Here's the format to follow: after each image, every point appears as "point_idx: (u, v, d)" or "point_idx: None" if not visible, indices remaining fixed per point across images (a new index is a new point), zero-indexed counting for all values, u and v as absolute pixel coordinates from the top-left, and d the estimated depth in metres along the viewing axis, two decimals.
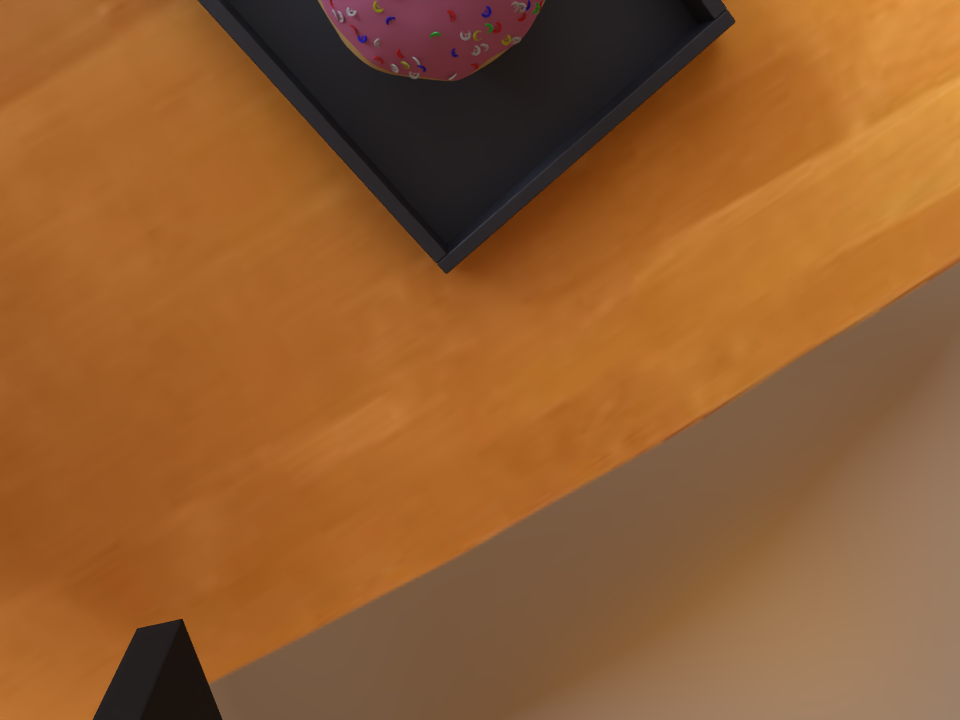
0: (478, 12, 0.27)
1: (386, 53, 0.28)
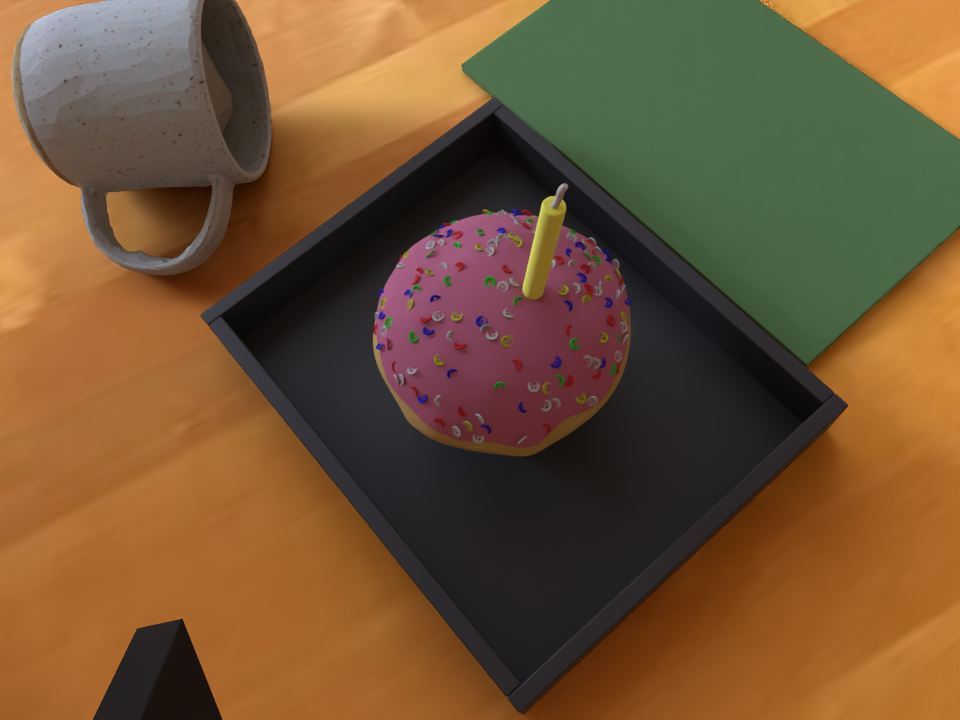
0: (547, 362, 0.25)
1: (447, 413, 0.26)
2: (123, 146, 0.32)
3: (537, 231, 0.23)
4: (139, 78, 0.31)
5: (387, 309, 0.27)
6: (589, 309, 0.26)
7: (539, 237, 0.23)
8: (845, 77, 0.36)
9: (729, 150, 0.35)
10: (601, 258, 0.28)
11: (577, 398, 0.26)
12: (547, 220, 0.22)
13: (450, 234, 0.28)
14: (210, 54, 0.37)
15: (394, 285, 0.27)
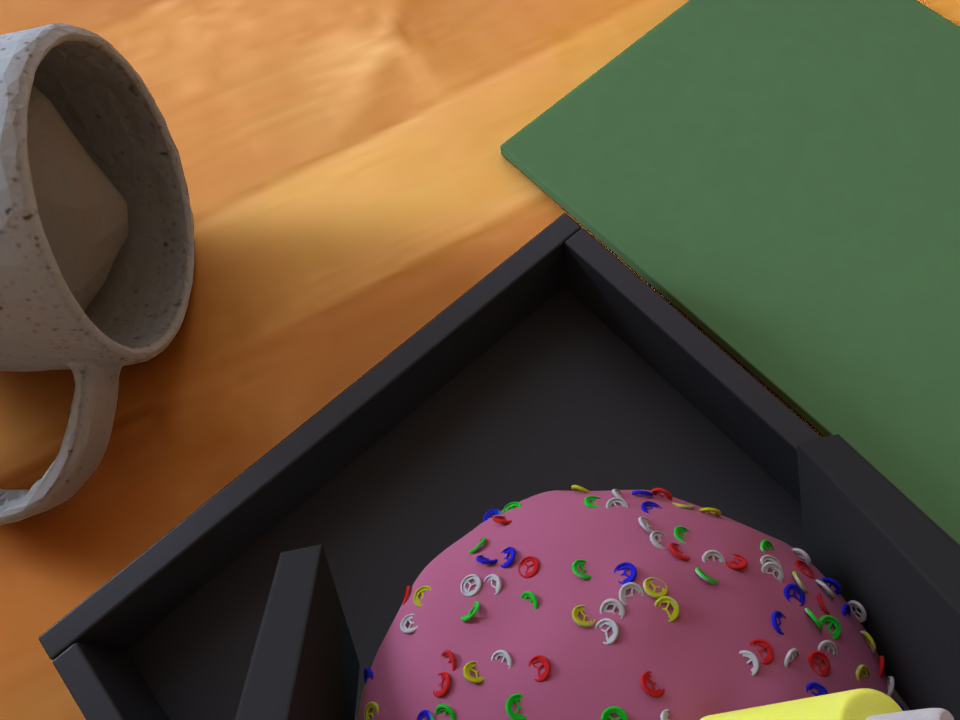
0: None
1: None
2: None
3: None
4: None
5: None
6: None
7: None
8: None
9: None
10: (836, 613, 0.13)
11: None
12: None
13: (512, 561, 0.13)
14: (90, 138, 0.23)
15: (394, 678, 0.13)
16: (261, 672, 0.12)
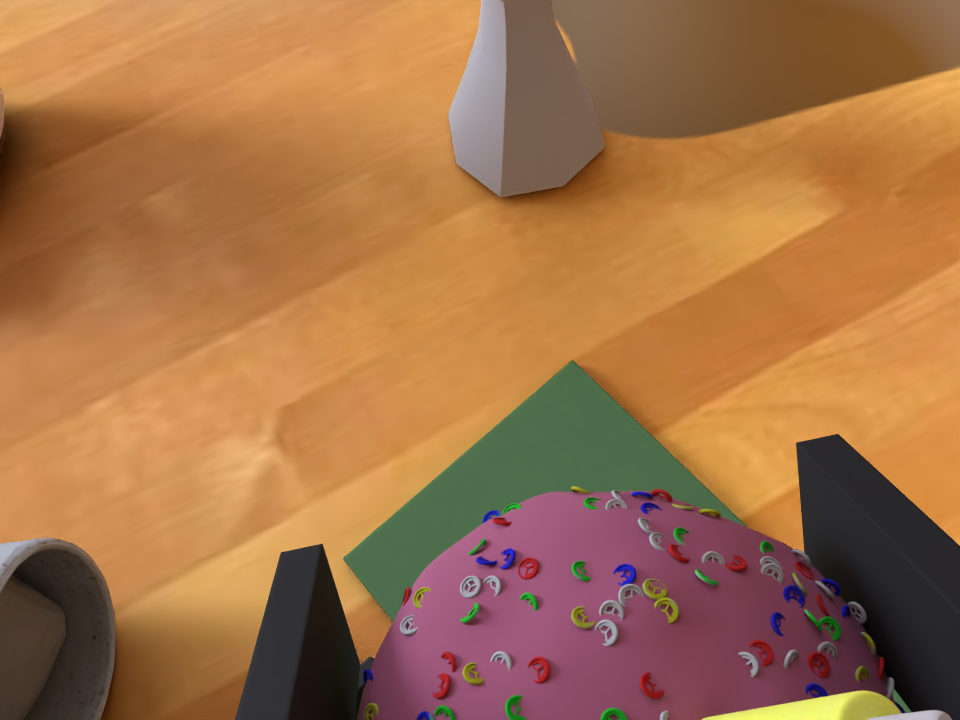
0: None
1: None
2: None
3: None
4: None
5: None
6: None
7: None
8: None
9: None
10: (835, 614, 0.13)
11: None
12: None
13: (512, 563, 0.13)
14: (37, 569, 0.31)
15: (394, 679, 0.13)
16: (261, 672, 0.12)
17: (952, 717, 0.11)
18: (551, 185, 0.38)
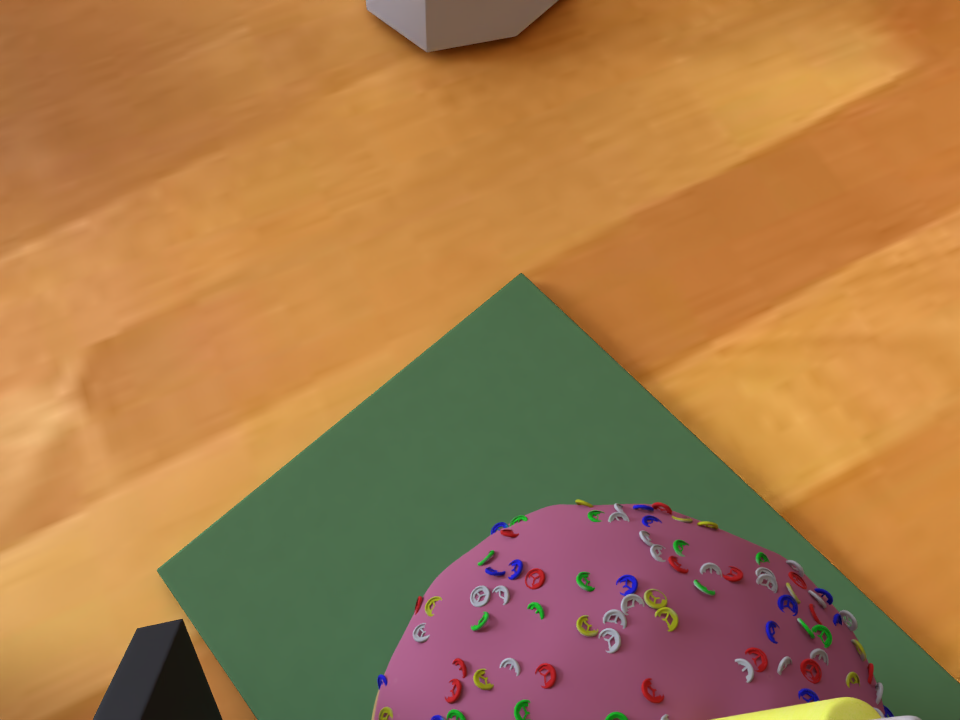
0: None
1: None
2: None
3: None
4: None
5: None
6: None
7: None
8: (872, 644, 0.18)
9: None
10: (827, 623, 0.14)
11: None
12: None
13: (519, 573, 0.14)
14: None
15: (408, 684, 0.14)
16: None
17: None
18: (499, 35, 0.27)
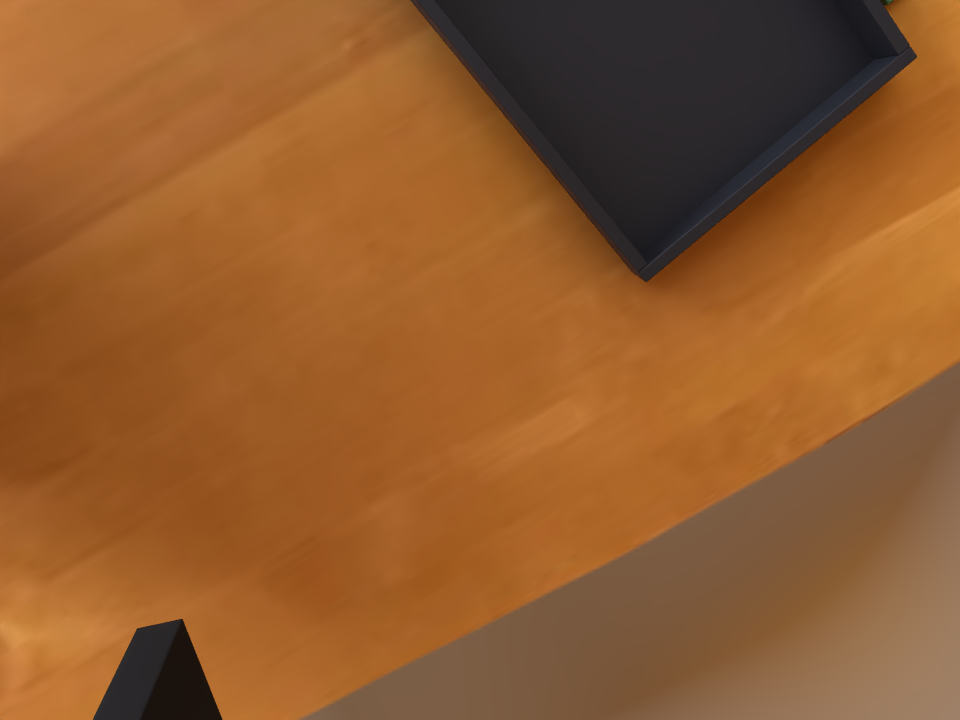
0: None
1: None
2: None
3: None
4: None
5: None
6: None
7: None
8: None
9: None
10: None
11: None
12: None
13: None
14: None
15: None
16: None
17: None
18: None
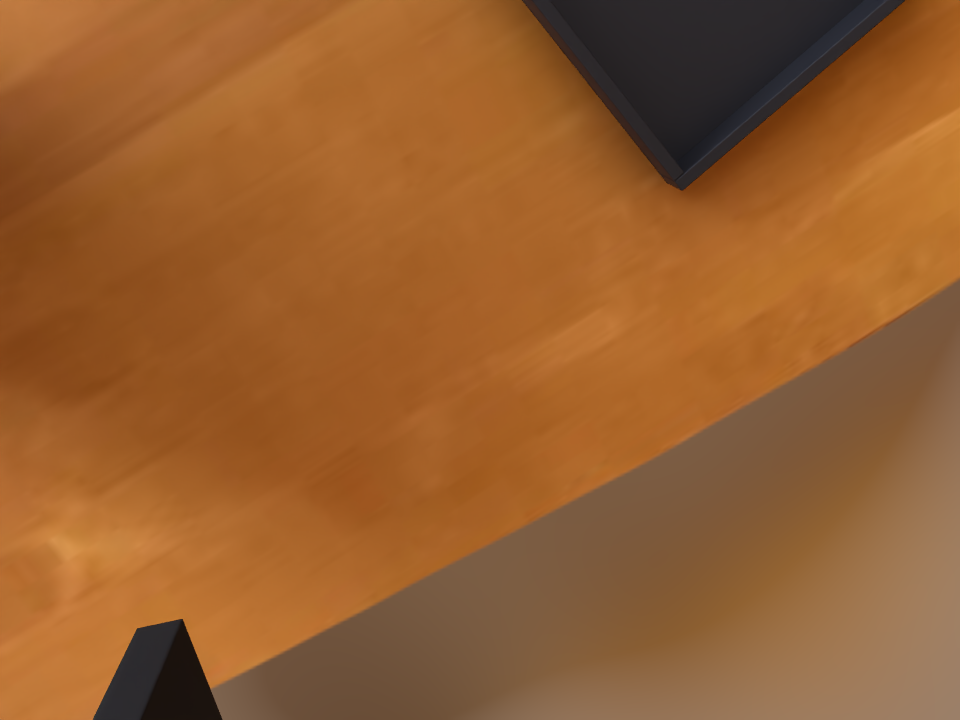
0: None
1: None
2: None
3: None
4: None
5: None
6: None
7: None
8: None
9: None
10: None
11: None
12: None
13: None
14: None
15: None
16: None
17: None
18: None
